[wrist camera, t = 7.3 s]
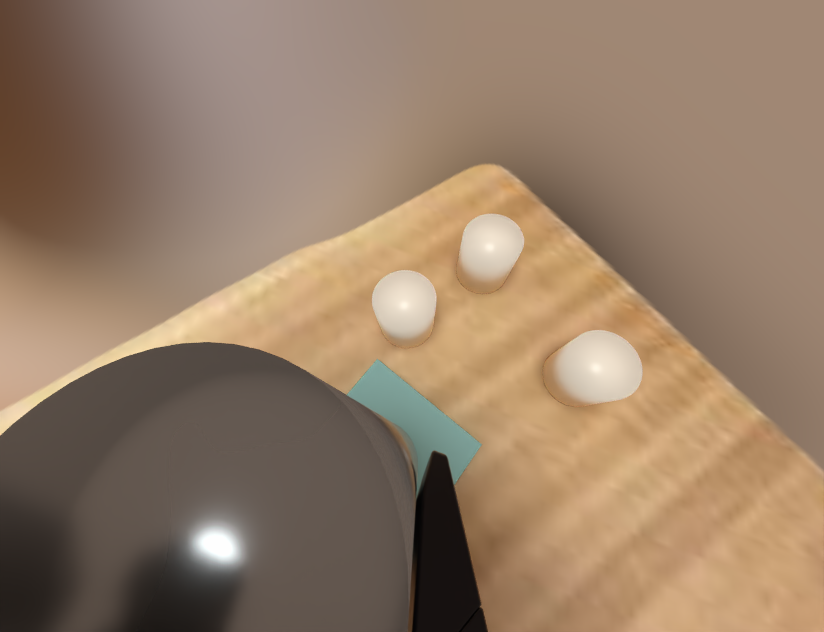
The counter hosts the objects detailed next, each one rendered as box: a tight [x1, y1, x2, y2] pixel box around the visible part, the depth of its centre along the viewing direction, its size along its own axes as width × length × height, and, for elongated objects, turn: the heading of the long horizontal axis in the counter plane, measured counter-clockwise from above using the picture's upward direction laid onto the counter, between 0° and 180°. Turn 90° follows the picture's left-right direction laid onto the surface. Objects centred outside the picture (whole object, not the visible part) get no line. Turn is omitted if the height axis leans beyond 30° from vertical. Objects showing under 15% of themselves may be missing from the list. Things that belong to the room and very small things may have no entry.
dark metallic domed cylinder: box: [0, 342, 418, 632], centre depth 8 cm, size 4×4×13 cm
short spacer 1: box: [372, 270, 436, 348], centre depth 19 cm, size 4×4×4 cm
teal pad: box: [347, 359, 482, 498], centre depth 18 cm, size 8×8×1 cm
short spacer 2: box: [542, 330, 642, 407], centre depth 18 cm, size 4×4×4 cm
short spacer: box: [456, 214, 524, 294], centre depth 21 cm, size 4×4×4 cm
